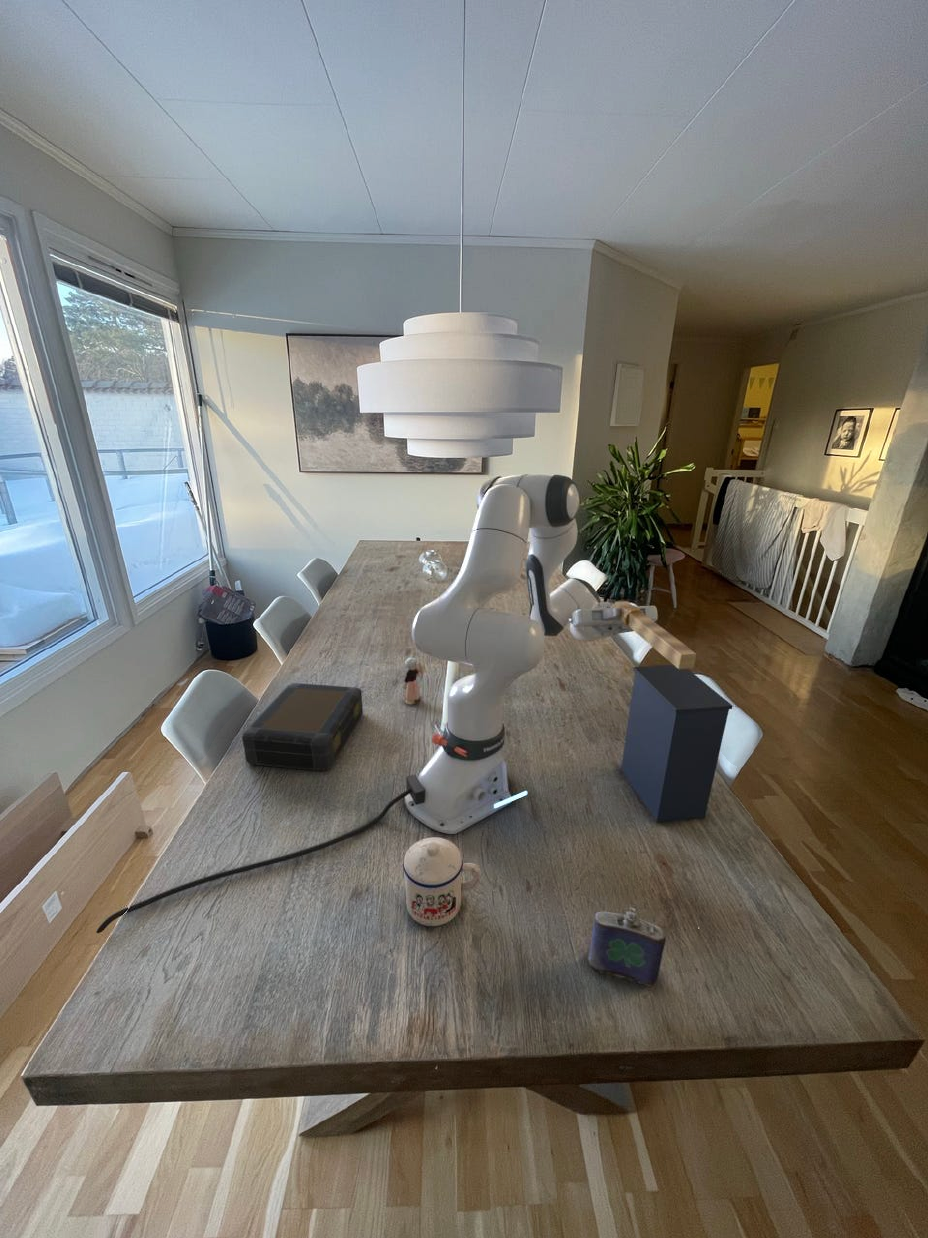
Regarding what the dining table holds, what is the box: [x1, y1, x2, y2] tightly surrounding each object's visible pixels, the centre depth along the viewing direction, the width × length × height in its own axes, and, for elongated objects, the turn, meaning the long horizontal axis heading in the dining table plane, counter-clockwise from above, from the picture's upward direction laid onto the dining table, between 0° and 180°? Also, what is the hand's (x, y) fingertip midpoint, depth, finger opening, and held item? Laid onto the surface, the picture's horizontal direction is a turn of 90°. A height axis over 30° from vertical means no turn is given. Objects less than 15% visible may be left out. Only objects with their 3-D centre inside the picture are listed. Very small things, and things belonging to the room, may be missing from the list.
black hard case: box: [241, 682, 364, 772], centre depth 122 cm, size 25×20×8 cm
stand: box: [620, 664, 733, 823], centre depth 101 cm, size 17×11×25 cm, turn 8°
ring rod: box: [614, 600, 697, 670], centre depth 107 cm, size 29×4×4 cm, turn 8°
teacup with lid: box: [402, 836, 482, 927], centre depth 79 cm, size 12×9×12 cm
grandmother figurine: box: [402, 657, 421, 706], centre depth 138 cm, size 8×4×13 cm, turn 168°
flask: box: [587, 906, 667, 987], centre depth 70 cm, size 9×3×11 cm, turn 72°
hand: (627, 611), depth 117 cm, fingers closed on ring rod, 3 cm apart
